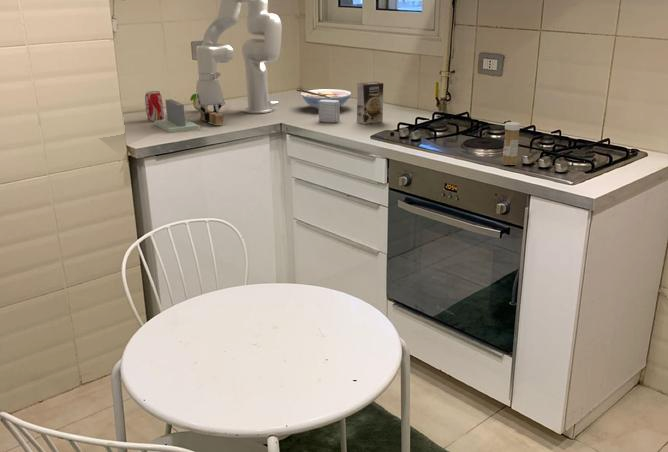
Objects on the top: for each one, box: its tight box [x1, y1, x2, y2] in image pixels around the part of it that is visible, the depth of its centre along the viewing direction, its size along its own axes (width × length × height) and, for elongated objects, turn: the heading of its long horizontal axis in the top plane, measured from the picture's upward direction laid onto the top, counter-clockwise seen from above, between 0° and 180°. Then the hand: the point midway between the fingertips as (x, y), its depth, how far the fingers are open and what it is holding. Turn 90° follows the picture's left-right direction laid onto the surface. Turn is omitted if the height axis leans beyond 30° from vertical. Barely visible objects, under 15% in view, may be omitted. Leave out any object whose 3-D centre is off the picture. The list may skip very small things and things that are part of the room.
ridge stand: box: [154, 99, 200, 134], centre depth 264 cm, size 12×19×10 cm, turn 32°
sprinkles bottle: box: [501, 121, 521, 165], centre depth 204 cm, size 5×5×13 cm
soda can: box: [144, 90, 165, 122], centre depth 276 cm, size 7×7×12 cm
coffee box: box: [356, 81, 384, 125], centre depth 267 cm, size 9×6×16 cm
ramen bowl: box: [296, 88, 351, 110], centre depth 297 cm, size 25×23×8 cm
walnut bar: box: [199, 109, 224, 126], centre depth 272 cm, size 18×3×4 cm, turn 32°
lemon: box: [189, 93, 203, 113], centre depth 294 cm, size 7×6×10 cm
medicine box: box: [318, 100, 341, 123], centre depth 271 cm, size 8×4×9 cm, turn 71°
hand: (211, 121), depth 273 cm, fingers closed on walnut bar, 2 cm apart
